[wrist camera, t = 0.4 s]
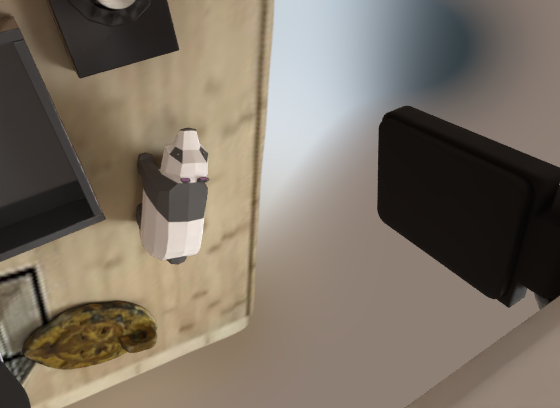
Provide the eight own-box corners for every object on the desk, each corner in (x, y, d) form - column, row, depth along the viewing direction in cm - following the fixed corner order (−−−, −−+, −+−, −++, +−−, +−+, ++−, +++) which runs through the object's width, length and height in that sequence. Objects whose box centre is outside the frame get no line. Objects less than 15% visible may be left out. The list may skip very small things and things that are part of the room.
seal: (23, 369, 52) (150, 338, 60) (27, 404, 49) (160, 366, 57) (18, 315, 47) (157, 289, 55) (22, 350, 44) (169, 317, 52)
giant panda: (178, 226, 52) (210, 273, 46) (130, 231, 49) (157, 283, 42) (191, 105, 46) (231, 140, 39) (137, 104, 43) (170, 141, 36)
